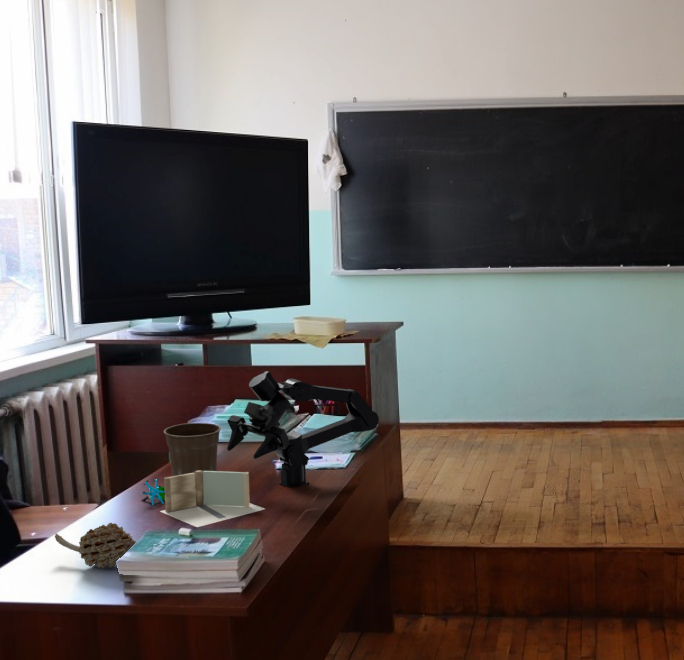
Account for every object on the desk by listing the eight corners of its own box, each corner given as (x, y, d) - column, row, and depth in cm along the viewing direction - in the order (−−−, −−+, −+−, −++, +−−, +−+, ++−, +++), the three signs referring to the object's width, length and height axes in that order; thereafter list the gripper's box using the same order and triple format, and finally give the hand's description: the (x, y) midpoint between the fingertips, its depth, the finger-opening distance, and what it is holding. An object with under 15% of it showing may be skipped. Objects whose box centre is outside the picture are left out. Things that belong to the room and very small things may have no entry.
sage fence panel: (203, 504, 257) (202, 471, 255) (205, 503, 258) (204, 470, 257) (248, 506, 254) (247, 473, 253) (249, 505, 255) (248, 472, 254)
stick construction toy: (151, 502, 255) (143, 477, 258) (134, 513, 258) (127, 488, 261) (181, 503, 264) (174, 479, 268) (165, 514, 267) (157, 490, 270)
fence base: (201, 503, 259) (200, 470, 258) (205, 505, 257) (203, 471, 256) (164, 510, 253) (163, 476, 252) (167, 512, 251) (166, 478, 250)
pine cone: (147, 562, 217) (145, 519, 216) (124, 578, 208) (122, 533, 207) (63, 553, 224) (61, 511, 223) (37, 567, 215) (35, 524, 214)
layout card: (226, 496, 267) (226, 494, 267) (265, 510, 253) (265, 508, 253) (159, 512, 253) (159, 511, 253) (197, 528, 239) (197, 527, 239)
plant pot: (207, 493, 269) (204, 436, 267) (155, 489, 275) (153, 433, 273) (232, 478, 285) (230, 424, 283) (183, 474, 290) (180, 421, 288)
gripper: (237, 386, 270) (204, 425, 261) (290, 399, 260) (258, 441, 251) (249, 413, 277) (218, 453, 268) (302, 428, 267) (271, 469, 258)
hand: (241, 453), depth 261 cm, fingers open, 9 cm apart
